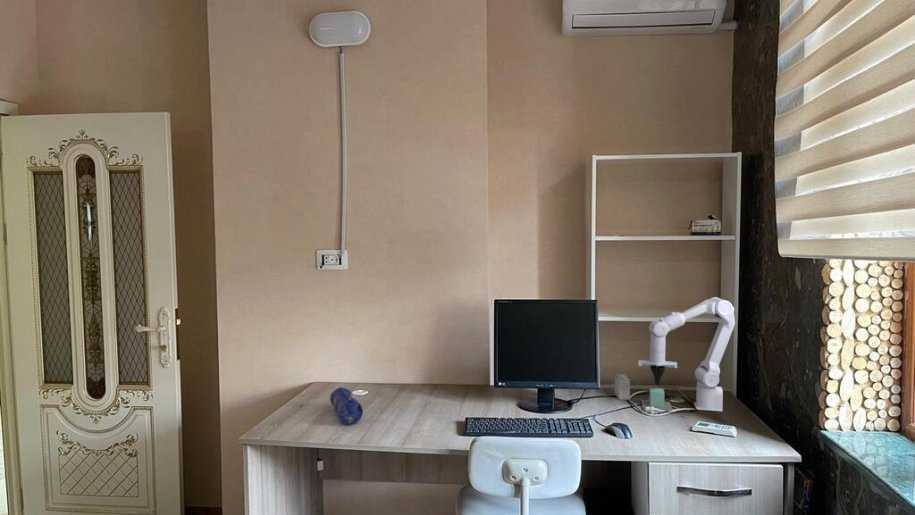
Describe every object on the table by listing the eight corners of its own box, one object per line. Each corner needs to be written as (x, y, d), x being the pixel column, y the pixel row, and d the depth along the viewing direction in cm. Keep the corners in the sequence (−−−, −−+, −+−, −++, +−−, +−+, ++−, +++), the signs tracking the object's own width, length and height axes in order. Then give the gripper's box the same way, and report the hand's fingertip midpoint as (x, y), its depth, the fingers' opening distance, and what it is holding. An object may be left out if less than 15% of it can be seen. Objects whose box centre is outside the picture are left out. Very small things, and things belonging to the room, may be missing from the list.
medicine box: (629, 400, 234) (630, 379, 233) (619, 400, 234) (619, 379, 233) (624, 394, 242) (624, 374, 241) (614, 394, 242) (614, 374, 241)
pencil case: (364, 424, 208) (363, 399, 207) (340, 428, 204) (340, 402, 203) (350, 406, 228) (350, 383, 227) (329, 409, 224) (328, 385, 224)
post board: (669, 403, 229) (669, 392, 228) (672, 412, 218) (673, 400, 218) (641, 401, 231) (641, 390, 231) (643, 410, 221) (643, 398, 220)
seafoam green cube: (662, 403, 227) (663, 388, 226) (664, 407, 222) (664, 392, 221) (649, 402, 228) (649, 387, 227) (650, 406, 223) (650, 391, 222)
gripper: (639, 352, 221) (638, 385, 222) (678, 354, 217) (677, 388, 218) (638, 348, 228) (637, 380, 229) (676, 350, 224) (675, 383, 225)
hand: (657, 384), depth 224 cm, fingers closed
